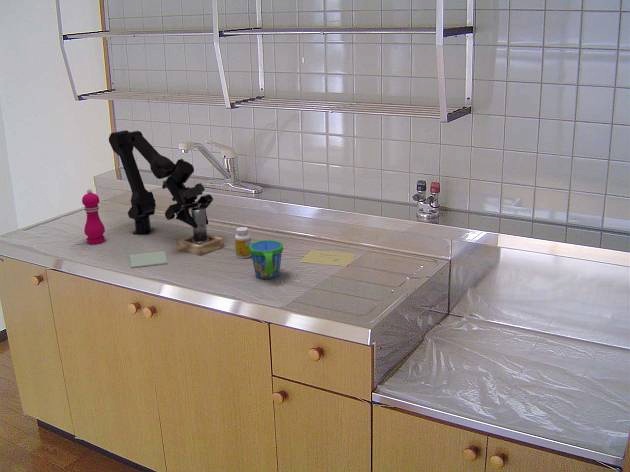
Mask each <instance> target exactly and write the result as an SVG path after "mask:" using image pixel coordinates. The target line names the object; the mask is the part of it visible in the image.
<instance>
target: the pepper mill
mask: <svg viewBox="0 0 630 472" xmlns="http://www.w3.org/2000/svg"><path fill="white" fill-rule="evenodd" d="M81 203H82V205H83V206H84V212H85V213H86V222H85V225H84V234H85V236H86V241H87V244H89V245H100V244H103V243H104V242H105V241H106V239H105V235H104V234H105V232H106V229H105V226H104V223H103V222H102V220H101V218H100V215H99V211H100V206H99V203H100V197H99V196H98V194H96V193H94V192H93V190H92V189H91V188H90V189H89V188H88V189H87V190H86V194H84V195H83V196H82V199H81Z"/></svg>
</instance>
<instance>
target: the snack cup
mask: <svg viewBox="0 0 630 472" xmlns="http://www.w3.org/2000/svg"><path fill="white" fill-rule="evenodd" d="M249 250H250V253H251V260H252V265H253V269H254V275H255V276H256V277H257V278H258V279H263V280H271V279H274V278H277V277H279V275H280V270H281V262H282V253H283V251H284V244H283V243H282V242H281V241H278V240H274V239H273V240H272V239H266V240H265V239H264V240H258V241H254V242H251V245H250V246H249Z"/></svg>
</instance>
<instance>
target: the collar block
mask: <svg viewBox="0 0 630 472" xmlns="http://www.w3.org/2000/svg"><path fill="white" fill-rule="evenodd" d="M207 238H209V242H206V243H203V244H201V245H198V244H195V243H192V239H194V237H193V235H190V236H187V237H184V238H182V239H179V240H176V250H179V251H182V252H186V253H189V254H194V255H196V256H199V257H200V256H203V255H205V254H208V253H211V252H213V251H216V250H218V249H221V248H223V247H225V238H224V237H219V236H216V235H213V234H210V233H209V234H208V233H207Z"/></svg>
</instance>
